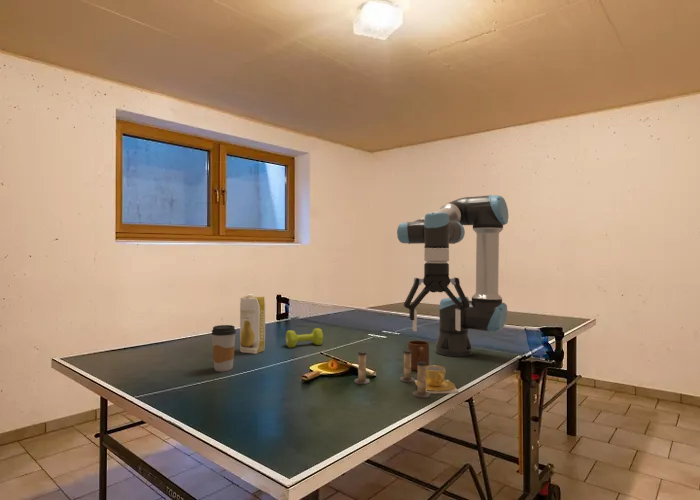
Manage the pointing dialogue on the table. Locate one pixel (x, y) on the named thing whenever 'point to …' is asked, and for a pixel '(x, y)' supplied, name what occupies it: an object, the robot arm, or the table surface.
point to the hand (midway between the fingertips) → (436, 330)
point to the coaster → (443, 391)
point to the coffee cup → (223, 347)
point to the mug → (418, 353)
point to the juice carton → (252, 324)
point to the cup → (437, 379)
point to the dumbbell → (304, 337)
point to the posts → (407, 377)
